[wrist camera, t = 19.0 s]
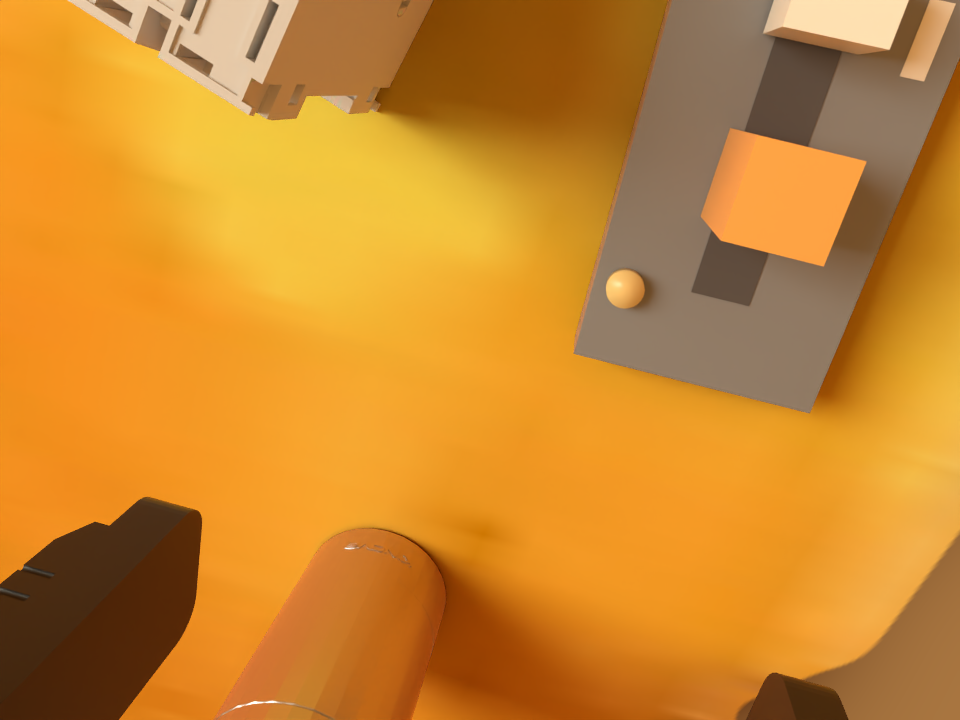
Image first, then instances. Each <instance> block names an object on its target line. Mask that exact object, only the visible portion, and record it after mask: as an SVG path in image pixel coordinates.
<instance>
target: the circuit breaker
mask: <svg viewBox="0 0 960 720" xmlns="http://www.w3.org/2000/svg"><path fill="white" fill-rule="evenodd" d="M68 1H70V2H71V3H73V4H75V5H76V6H78V7H79V8H81V9H82V10H84V11H86V12H87V13H89V14H90V15H92V16H94V17H95V18H97V19H98V20H100V21H101V22H103V23H105V24H106V25H108V26H109V27H111V28H112V29H114V30H116V31H117V32H119V33H120V34H122V35H124V36H125V37H127V38H128V39H130V40H131V41H133V42H135V43H137V44H140V45H143V46H146V47H149V48H152V49H155V50H158V51H160V53H159V56H158V58H160V59H161V60H163V61H165V62H166V63H168V64H169V65H171V66H172V67H174V68H176V69H177V70H179V71H180V72H182V73H183V74H185V75H187V76H188V77H190V78H191V79H193V80H195V81H196V82H198V83H199V84H201V85H202V86H204V87H206V88H207V89H209V90H210V91H212V92H213V93H215V94H217V95H218V96H220V97H221V98H223V99H225V100H226V101H228V102H229V103H231V104H232V105H234V106H236V107H237V108H239V109H240V110H242V111H243V112H245V113H247V114H248V115H251V116H254V114H255V112H256V113H258V114H260V115H261V116H263V117H265V118H266V119H269V120H281V119H294V118H297V115H298V113H299V111H300V109H301V107H302V105H303V103H304V100H305V98H306V96H321V97H323V98H324V99H326V100H327V101H329V102H331V103H332V104H334V105H335V106H337V107H338V108H340V109H342V110H343V111H345V112H346V113H348V114H354V113H367V112H369V110H370V109H371V110H373V111H374V112H377V111H378V109H379V107H380V105H381V104H380V103H379V102H377V101H376V100H375V98H376V96H377V94H378V92H379V90H380V88H389V87H390V85H391V83H392V81H393V79H394V77H395V75H396V73H397V71H398V69H399V67H400V65H401V63H402V61H403V59H404V58H405V56H406V54H407V52H408V50H409V48H410V46H411V44H412V42H413V40H414V38H415V36H416V34H417V32H418V30H419V28H420V26H421V24H422V22H423V20H424V18H425V16H426V14H427V12H428V10H429V8H430V6H431V4H432V2H433V0H68Z"/></svg>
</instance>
